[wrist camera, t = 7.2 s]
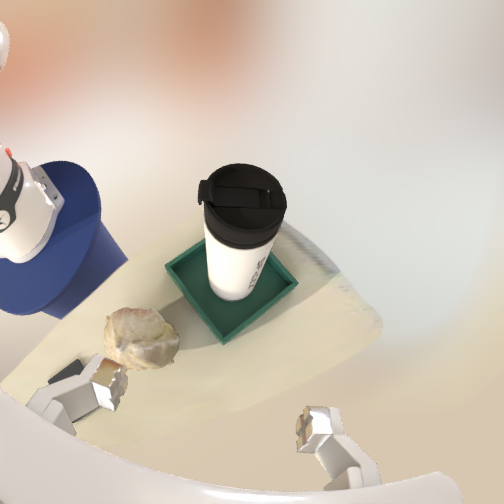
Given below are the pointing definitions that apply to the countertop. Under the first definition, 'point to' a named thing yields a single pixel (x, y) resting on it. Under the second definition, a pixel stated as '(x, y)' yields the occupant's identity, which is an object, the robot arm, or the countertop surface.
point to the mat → (68, 372)
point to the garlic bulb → (140, 339)
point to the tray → (220, 311)
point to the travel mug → (239, 226)
